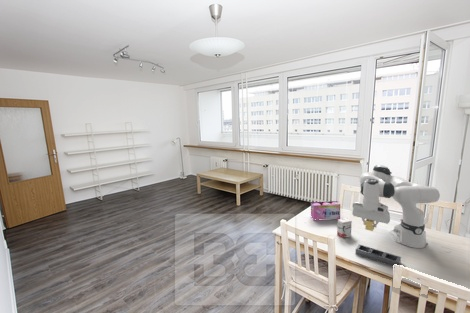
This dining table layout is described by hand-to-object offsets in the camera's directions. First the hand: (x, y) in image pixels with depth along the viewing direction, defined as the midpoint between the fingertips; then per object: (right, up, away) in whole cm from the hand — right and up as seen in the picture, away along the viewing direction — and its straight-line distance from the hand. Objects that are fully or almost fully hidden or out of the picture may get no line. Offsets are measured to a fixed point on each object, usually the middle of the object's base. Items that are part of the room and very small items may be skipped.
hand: (369, 225), depth 141 cm
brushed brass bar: (0, -2, 0) cm, 2 cm away
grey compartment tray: (0, -18, -7) cm, 19 cm away
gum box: (-8, -9, +50) cm, 52 cm away
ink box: (-6, -14, +21) cm, 26 cm away
